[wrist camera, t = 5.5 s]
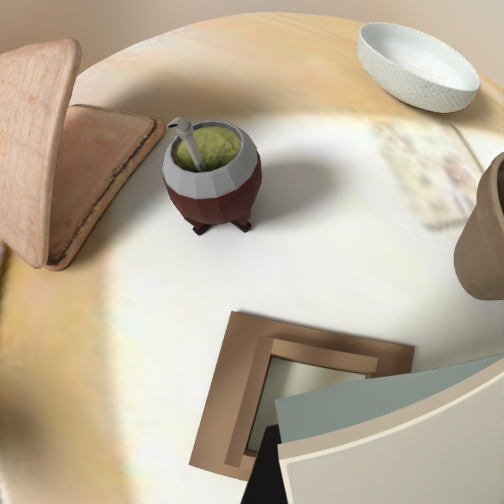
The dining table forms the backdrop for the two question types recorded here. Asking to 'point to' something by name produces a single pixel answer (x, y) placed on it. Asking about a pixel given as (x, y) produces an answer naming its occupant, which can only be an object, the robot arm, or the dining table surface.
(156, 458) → the dining table surface
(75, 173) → the case
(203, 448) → the picture frame
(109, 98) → the dining table surface
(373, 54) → the cereal bowl
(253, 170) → the mate gourd
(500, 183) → the flower pot
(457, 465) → the pale blue rectangular block
